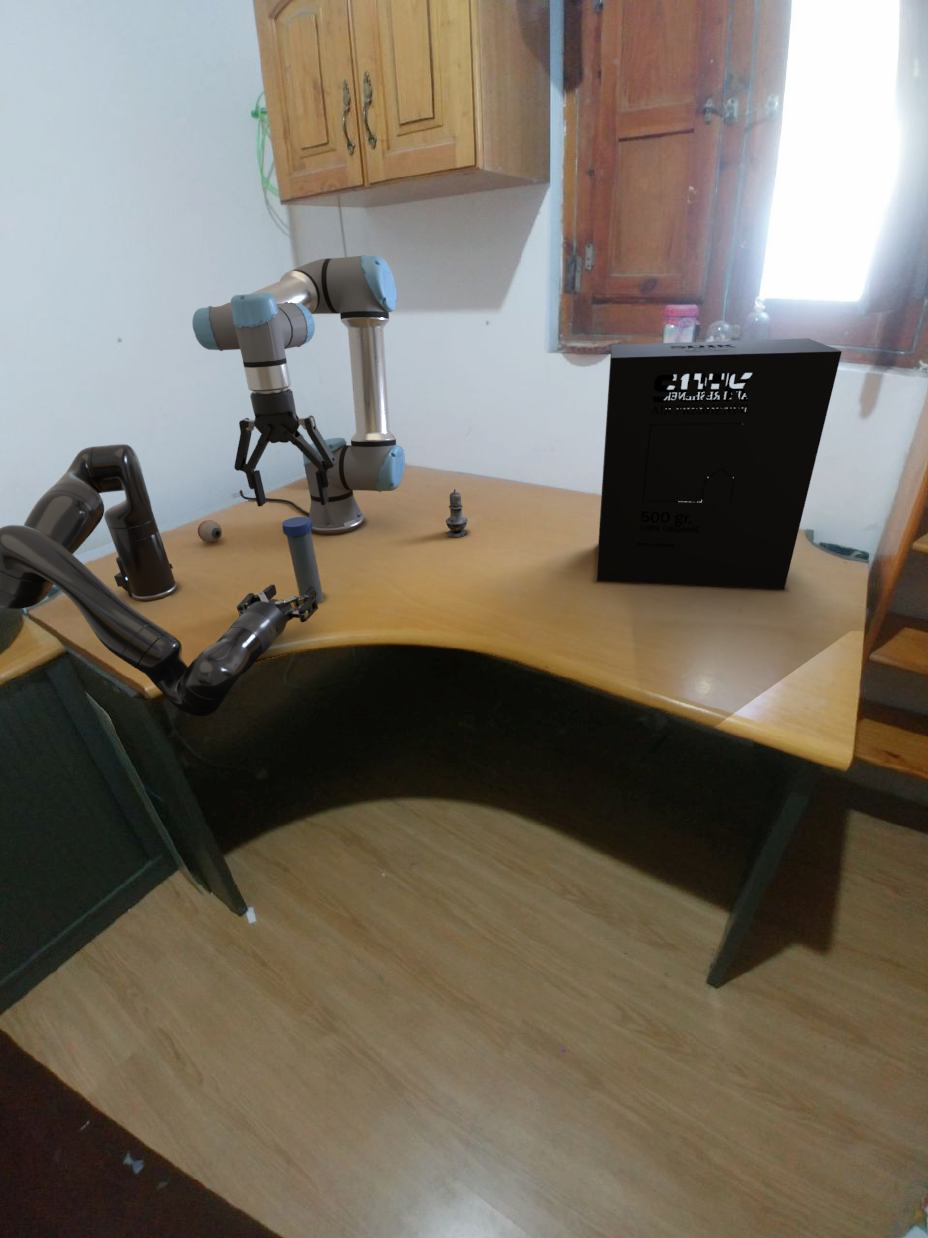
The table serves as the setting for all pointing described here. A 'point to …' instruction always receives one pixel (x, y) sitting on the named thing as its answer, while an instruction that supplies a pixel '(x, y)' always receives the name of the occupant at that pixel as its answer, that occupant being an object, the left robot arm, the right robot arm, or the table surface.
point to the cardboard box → (710, 460)
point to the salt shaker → (456, 516)
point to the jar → (305, 564)
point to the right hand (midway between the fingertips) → (293, 503)
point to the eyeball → (209, 531)
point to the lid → (297, 526)
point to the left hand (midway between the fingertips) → (293, 589)
